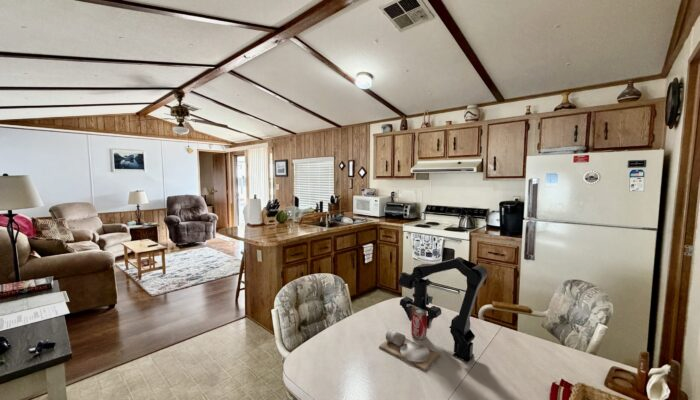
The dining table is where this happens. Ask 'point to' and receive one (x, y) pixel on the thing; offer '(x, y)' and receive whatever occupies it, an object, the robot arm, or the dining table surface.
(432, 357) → the duct board
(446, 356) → the dining table surface
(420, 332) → the soda can
